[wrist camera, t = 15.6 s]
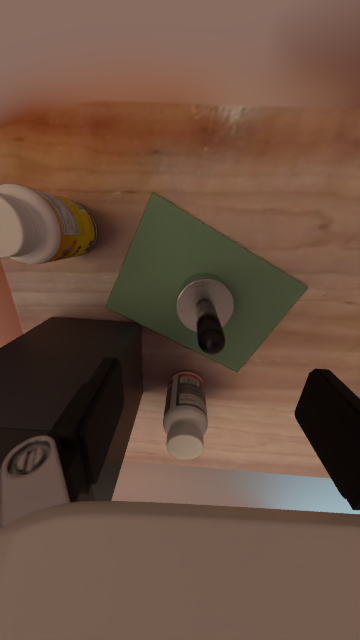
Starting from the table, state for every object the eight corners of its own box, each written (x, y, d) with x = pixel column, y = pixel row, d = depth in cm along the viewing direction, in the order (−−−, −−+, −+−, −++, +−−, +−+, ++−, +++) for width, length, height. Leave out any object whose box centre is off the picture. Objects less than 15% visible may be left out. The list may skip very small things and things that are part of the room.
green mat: (106, 305, 26) (105, 307, 25) (153, 193, 21) (152, 191, 20) (236, 370, 29) (237, 372, 28) (305, 286, 24) (308, 287, 23)
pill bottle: (184, 403, 32) (181, 470, 23) (160, 382, 30) (148, 444, 21) (211, 386, 30) (220, 451, 21) (188, 363, 29) (187, 422, 20)
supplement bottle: (61, 258, 24) (-24, 275, 14) (41, 205, 21) (-74, 184, 12) (106, 251, 23) (48, 262, 14) (90, 195, 21) (9, 164, 12)
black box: (67, 387, 31) (-104, 601, 13) (51, 316, 27) (-252, 498, 8) (143, 392, 31) (76, 618, 13) (140, 322, 26) (30, 523, 8)
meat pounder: (169, 306, 25) (154, 361, 14) (193, 263, 23) (197, 288, 12) (210, 328, 26) (225, 394, 15) (238, 288, 23) (277, 333, 13)
